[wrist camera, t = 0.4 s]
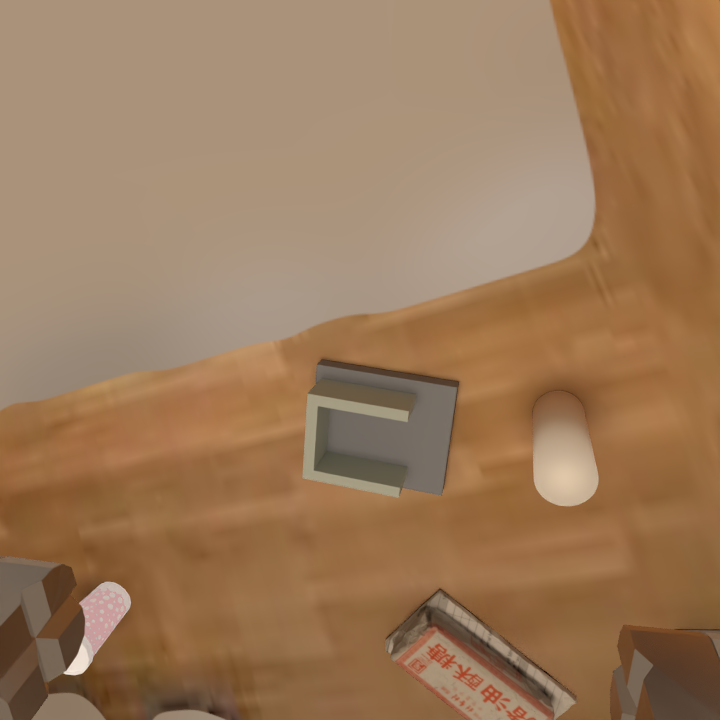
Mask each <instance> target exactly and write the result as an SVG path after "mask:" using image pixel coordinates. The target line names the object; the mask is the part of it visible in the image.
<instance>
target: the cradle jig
mask: <svg viewBox="0 0 720 720" xmlns="http://www.w3.org/2000/svg"><path fill="white" fill-rule="evenodd" d="M458 384H459V382H457V381H451V380H445V379H439V378H432V377H426V376H420V375H414V374H408V373H402V372H396V371H389V370H383V369H377V368H371V367H365V366H359V365H353V364H346V363H340V362H334V361H328V360H321V361H320V362H319V363H318V364H317V371H316V385H315V386H314V387H313V388H312V389H311V390H310V391H309V393H308V394H307V411H306V428H305V445H304V462H303V478H304V479H309V480H314V481H319V482H324V483H329V484H334V485H339V486H344V487H349V488H353V489H358V490H363V491H368V492H373V493H378V494H383V495H388V496H393V497H398V498H399V496H400V493H401V490H402V488H406V489H411V490H416V491H421V492H426V493H431V494H436V495H441V496H442V492H443V488H444V482H445V475H446V468H447V461H448V454H449V447H450V440H451V433H452V426H453V419H454V412H455V405H456V398H457V391H458Z"/></svg>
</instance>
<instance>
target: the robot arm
mask: <svg viewBox="0 0 720 720" xmlns="http://www.w3.org/2000/svg"><path fill="white" fill-rule="evenodd" d="M76 585H77V584H76V581H75V577H74V574H73V571H72V568H71V567H69V566H66V565H64V564H60V563H52V562H45V561H38V560H30V559H23V558H16V557H8V556H7V557H3V556H0V720H31V719H32V718H33V717H34V715H35V714H36V713H37V711H38V710H39V708H40V707H41V706H42V704H43V703H44V701H45V700H46V699H47V697H48V682H49V681H51V680H52V679H54V678H56V677H57V676H59V675H60V674H62V673H64V672H65V671H67V669H68V668H69V666H70V665H71V663H72V662H73V660H74V659H75V657H76V656H77V655H78V652H79V649H80V646H81V643H82V640H83V638H84V635H85V617H84V612H83V608H82V606H81V605H80V604H79V603H78V602H77V601H76V600H75V599H74V598H73V597H72V596H71V593H72V591H73V590H74V588H75V586H76ZM617 647H618V651H619V655H620V660H621V664H622V665H620V666H619V667H618V668H616V669H615V670H614V671H613V675H612V682H611V689H610V713H611V720H720V634H716V633H706V632H705V633H701V632H693V631H683V630H673V629H663V628H653V627H643V626H633V625H623V627H622V629H621V631H620V635H619V640H618V646H617Z"/></svg>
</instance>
